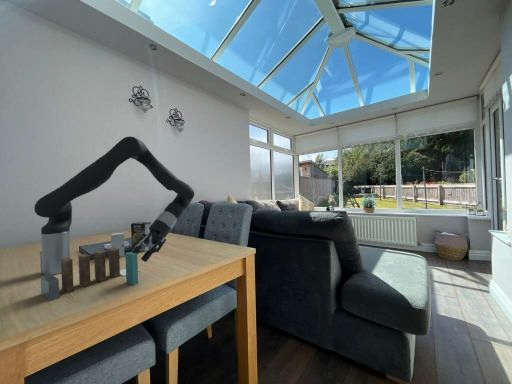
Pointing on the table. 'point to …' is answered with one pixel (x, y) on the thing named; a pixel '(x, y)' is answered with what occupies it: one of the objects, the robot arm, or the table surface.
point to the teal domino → (131, 268)
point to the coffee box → (139, 232)
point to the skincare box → (118, 242)
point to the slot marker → (123, 272)
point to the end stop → (50, 287)
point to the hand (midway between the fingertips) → (137, 259)
